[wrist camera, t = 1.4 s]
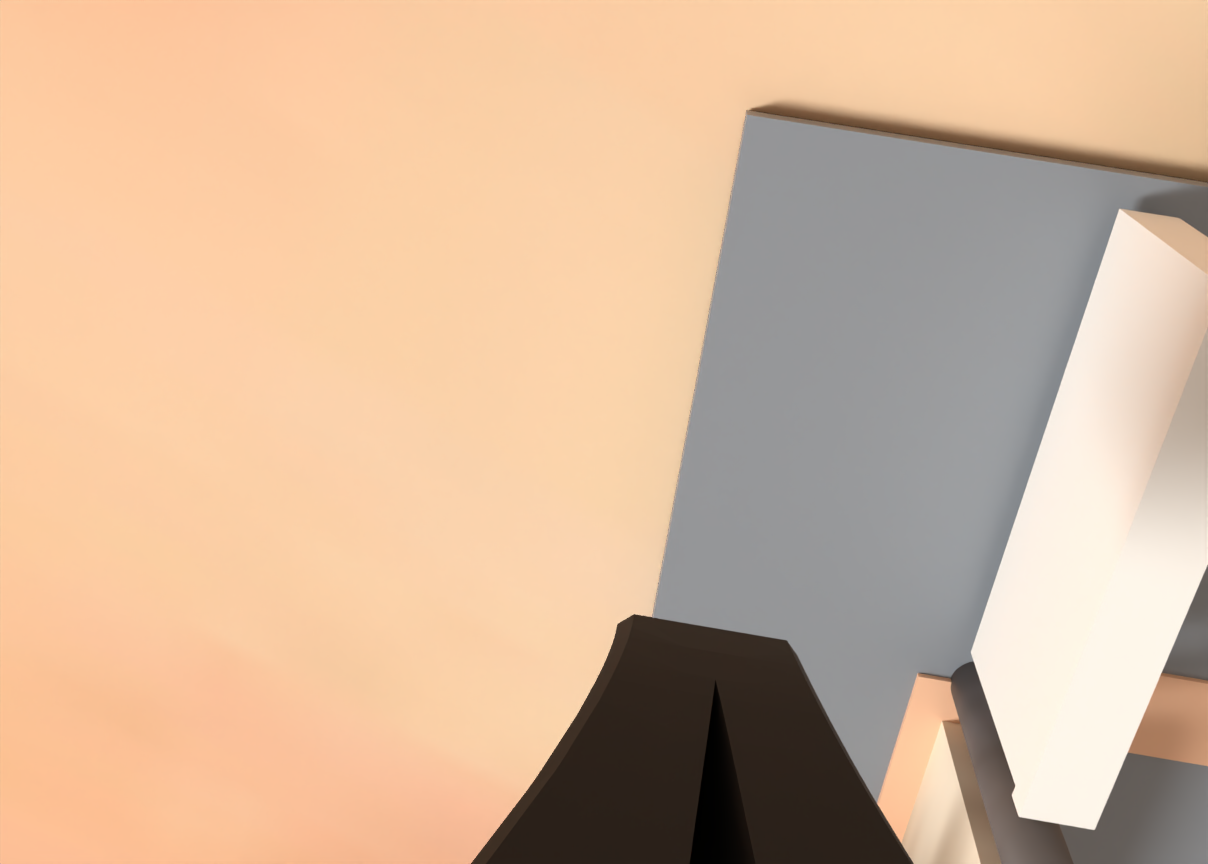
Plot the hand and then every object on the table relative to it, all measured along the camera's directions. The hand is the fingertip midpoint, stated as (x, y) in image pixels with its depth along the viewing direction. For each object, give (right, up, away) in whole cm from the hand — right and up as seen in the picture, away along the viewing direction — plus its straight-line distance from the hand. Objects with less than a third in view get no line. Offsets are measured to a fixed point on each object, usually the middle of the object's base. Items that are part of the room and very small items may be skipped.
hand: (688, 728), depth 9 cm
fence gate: (+6, +2, +8) cm, 10 cm away
